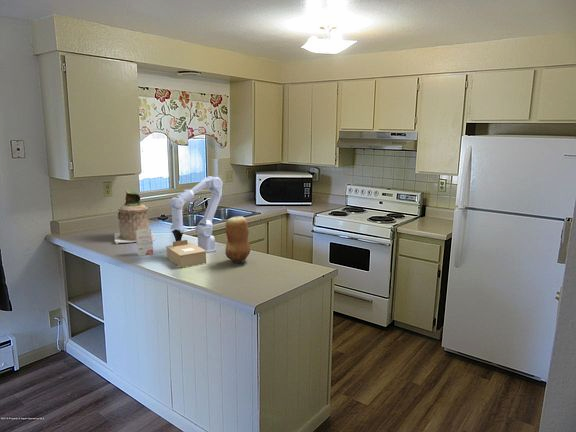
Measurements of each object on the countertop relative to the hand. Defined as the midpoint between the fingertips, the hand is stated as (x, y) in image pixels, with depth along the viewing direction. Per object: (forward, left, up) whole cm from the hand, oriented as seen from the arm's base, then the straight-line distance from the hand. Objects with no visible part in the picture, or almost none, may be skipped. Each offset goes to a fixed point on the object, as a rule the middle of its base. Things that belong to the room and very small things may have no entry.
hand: (178, 242), depth 238 cm
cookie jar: (+9, -54, -8) cm, 56 cm away
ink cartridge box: (+14, -15, -8) cm, 22 cm away
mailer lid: (0, +11, -1) cm, 11 cm away
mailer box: (0, +11, -8) cm, 13 cm away
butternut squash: (-22, +29, -8) cm, 37 cm away
